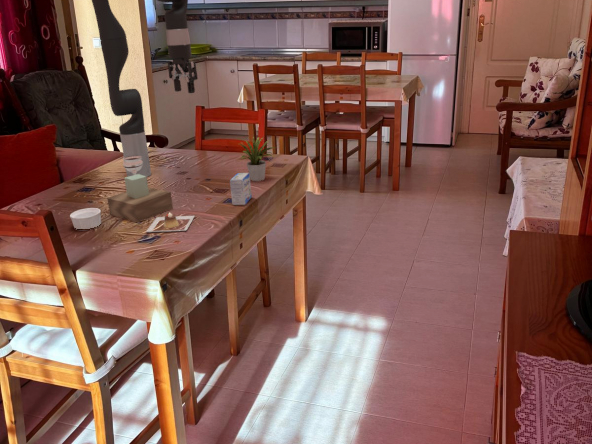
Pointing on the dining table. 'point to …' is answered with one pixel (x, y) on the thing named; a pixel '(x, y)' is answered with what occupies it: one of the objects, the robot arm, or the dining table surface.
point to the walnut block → (140, 205)
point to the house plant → (256, 160)
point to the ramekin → (86, 218)
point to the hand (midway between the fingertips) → (184, 92)
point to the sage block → (136, 186)
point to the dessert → (170, 222)
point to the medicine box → (240, 189)
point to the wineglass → (133, 163)
